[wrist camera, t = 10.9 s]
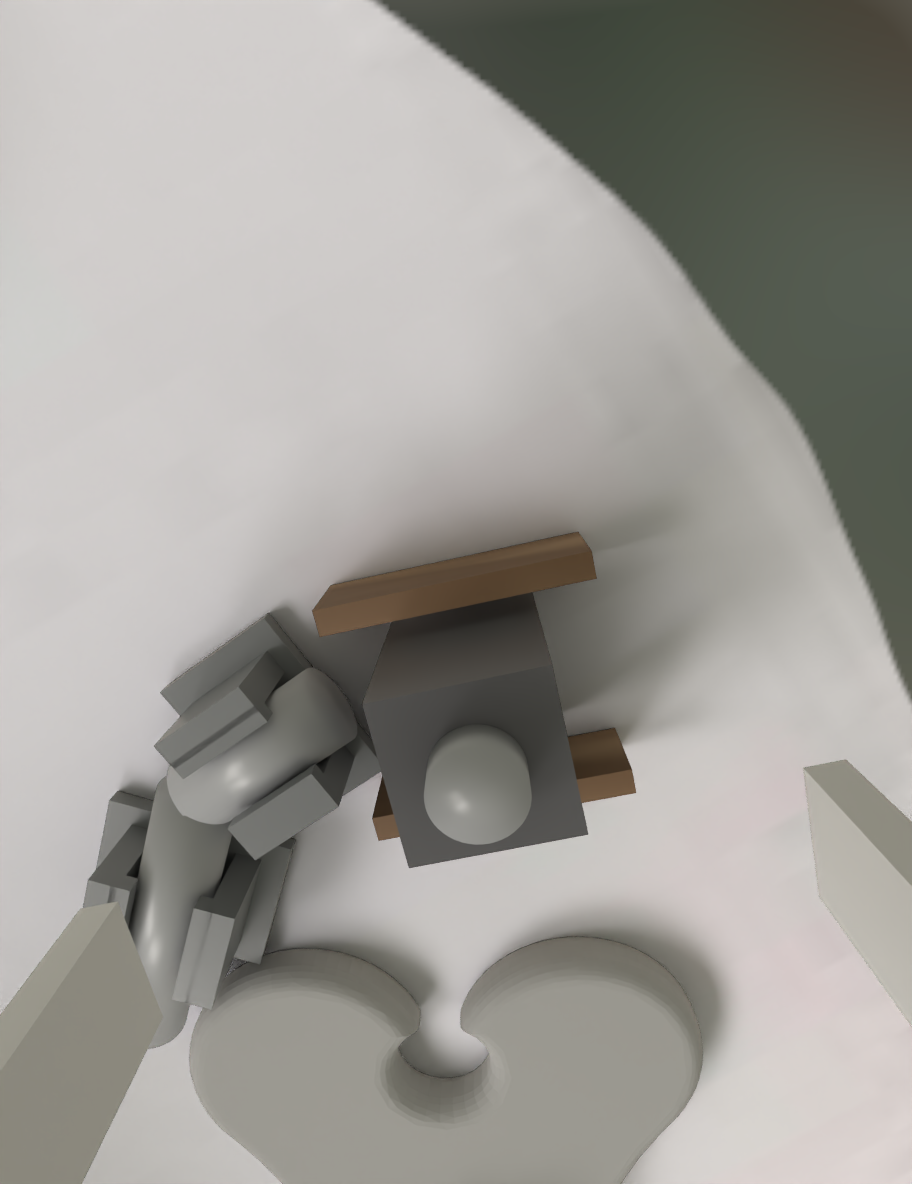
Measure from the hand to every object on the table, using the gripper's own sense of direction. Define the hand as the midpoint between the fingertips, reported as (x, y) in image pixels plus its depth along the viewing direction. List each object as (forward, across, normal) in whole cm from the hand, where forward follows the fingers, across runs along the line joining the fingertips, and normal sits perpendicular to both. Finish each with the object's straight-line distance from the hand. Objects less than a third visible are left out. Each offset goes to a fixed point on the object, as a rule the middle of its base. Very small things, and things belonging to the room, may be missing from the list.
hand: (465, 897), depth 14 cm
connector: (+11, 0, 0) cm, 11 cm away
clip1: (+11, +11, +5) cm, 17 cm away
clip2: (+11, +6, 0) cm, 13 cm away
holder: (+12, +6, +26) cm, 30 cm away
